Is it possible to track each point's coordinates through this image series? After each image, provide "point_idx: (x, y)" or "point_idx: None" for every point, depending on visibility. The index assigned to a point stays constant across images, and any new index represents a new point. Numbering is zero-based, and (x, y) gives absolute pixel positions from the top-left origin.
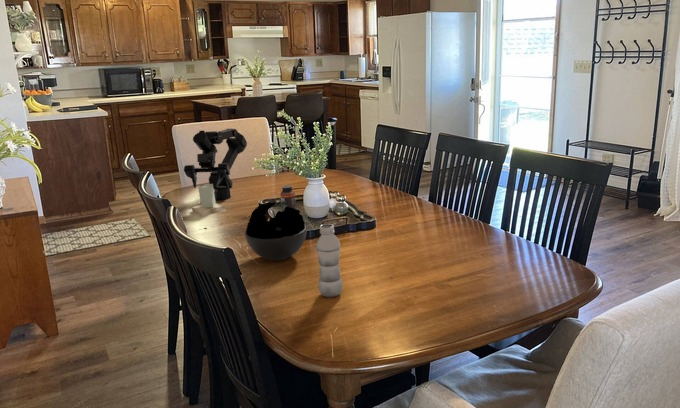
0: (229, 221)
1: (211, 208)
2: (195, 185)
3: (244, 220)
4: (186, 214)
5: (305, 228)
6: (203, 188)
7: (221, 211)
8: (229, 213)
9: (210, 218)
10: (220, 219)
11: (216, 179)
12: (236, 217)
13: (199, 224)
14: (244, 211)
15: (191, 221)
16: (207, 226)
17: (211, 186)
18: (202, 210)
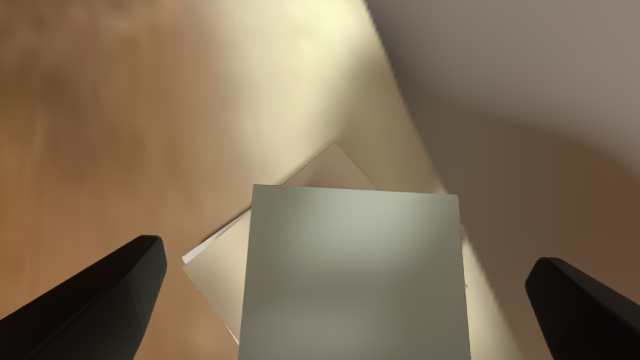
0: (158, 66)
1: None
2: (555, 315)
3: (64, 63)
4: (486, 291)
5: None
6: (367, 193)
7: (217, 233)
8: (167, 244)
9: (289, 153)
10: (219, 117)
11: (47, 327)
12: (115, 136)
13: (334, 52)
14: (51, 274)
15: (399, 119)
16: (279, 9)
17: (247, 287)
18: (346, 160)
